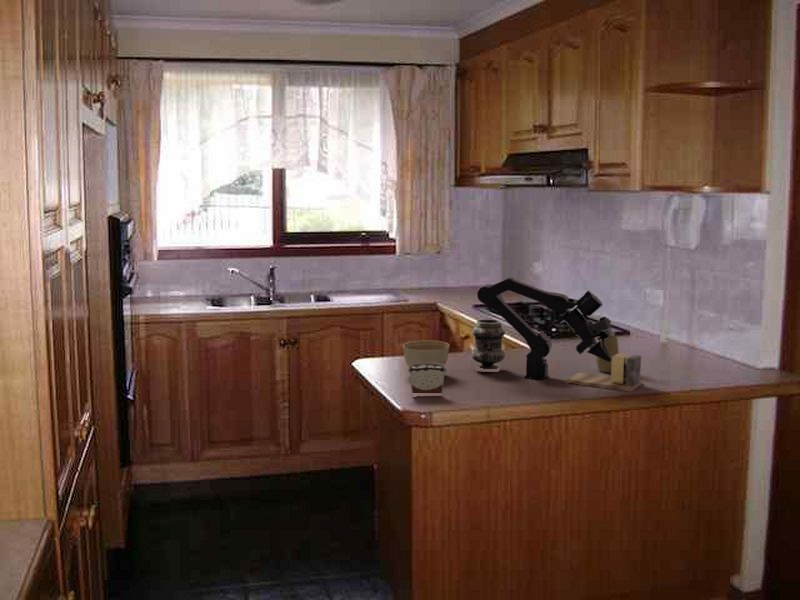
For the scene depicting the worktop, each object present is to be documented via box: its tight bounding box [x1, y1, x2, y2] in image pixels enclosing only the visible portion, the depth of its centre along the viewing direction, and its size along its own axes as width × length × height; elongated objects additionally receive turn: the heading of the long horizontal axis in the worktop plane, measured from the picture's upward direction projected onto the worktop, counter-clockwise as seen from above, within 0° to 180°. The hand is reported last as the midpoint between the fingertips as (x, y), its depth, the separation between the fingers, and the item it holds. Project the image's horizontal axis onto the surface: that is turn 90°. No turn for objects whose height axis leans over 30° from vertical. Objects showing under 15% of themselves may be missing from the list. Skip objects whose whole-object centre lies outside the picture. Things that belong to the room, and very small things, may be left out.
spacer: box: [610, 353, 630, 384], centre depth 284 cm, size 4×6×9 cm, turn 148°
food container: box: [407, 362, 448, 394], centre depth 275 cm, size 12×6×10 cm, turn 92°
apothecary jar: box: [470, 318, 506, 369], centre depth 307 cm, size 12×12×18 cm
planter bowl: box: [402, 340, 450, 368], centre depth 300 cm, size 16×16×11 cm
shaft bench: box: [565, 354, 643, 392], centre depth 287 cm, size 22×12×10 cm, turn 58°
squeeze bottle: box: [595, 327, 620, 373], centre depth 304 cm, size 8×8×18 cm
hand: (610, 361), depth 286 cm, fingers closed
